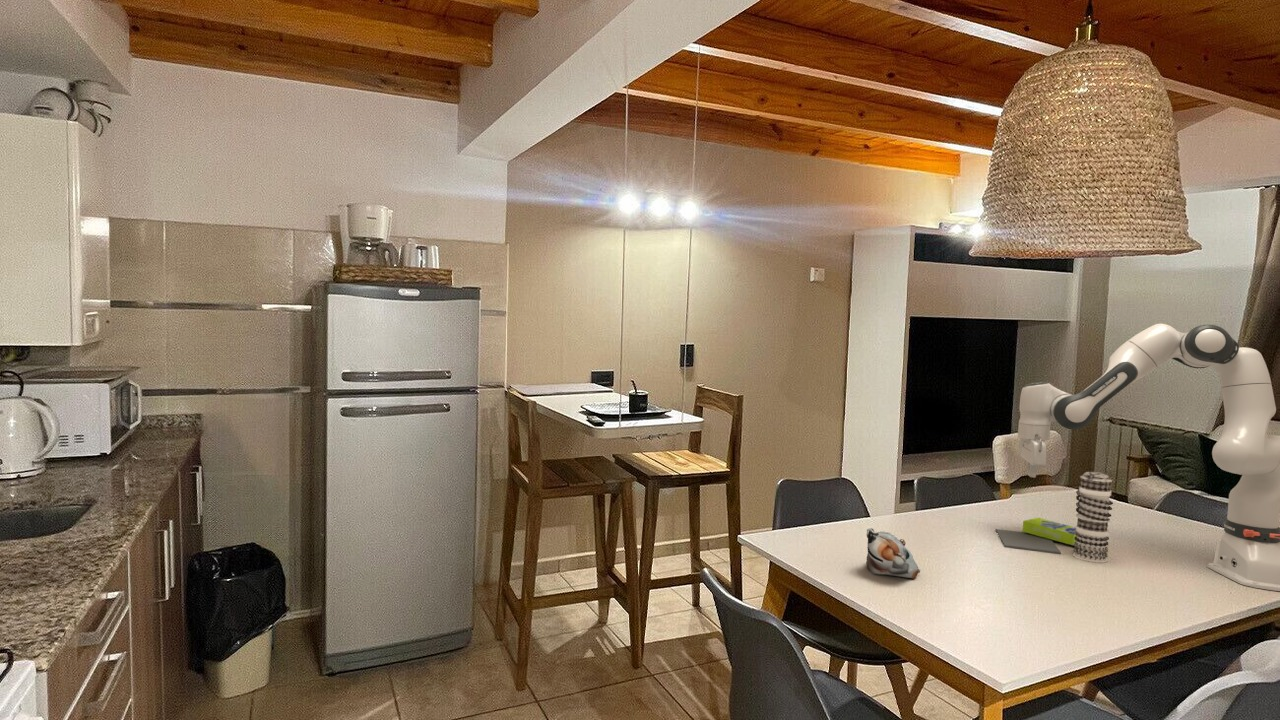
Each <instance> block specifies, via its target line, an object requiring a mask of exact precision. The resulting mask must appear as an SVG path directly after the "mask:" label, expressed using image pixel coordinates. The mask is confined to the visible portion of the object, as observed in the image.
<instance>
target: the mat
mask: <svg viewBox="0 0 1280 720" xmlns="http://www.w3.org/2000/svg"><path fill="white" fill-rule="evenodd" d="M996 531H997V532H996ZM995 532H996V534H997V533H998V534H997V536H998V535H999V536H998V538H999V537H1000V538H999V539H1001V540H1000V541H1001V544H1002V545H1003V546H1004V548H1009V549H1016V550H1017V549H1018V550H1026V551H1032V552H1033V551H1034V552H1041V553H1048V554H1057V555H1061V554H1062V552H1061V550H1060V549H1059V548H1058V546H1057V544H1055V543H1054V541H1053V540H1051V539H1047V538H1044V537H1040V536H1036V535H1033V534H1029V533H1025V532H1022V531H1015V530H1008V529H1007V530H1006V529H998V528H995Z"/></svg>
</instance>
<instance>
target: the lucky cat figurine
mask: <svg viewBox="0 0 1280 720" xmlns="http://www.w3.org/2000/svg"><path fill="white" fill-rule="evenodd" d="M866 538H867V554H866V562H865V565H866V568H867V569H868V570H869V571H870V572H871V573H872V574H873V575H875V576H876V575H885V576H887V575H888V576H893V577H894V576H895V577H901V578H907V579H911V580H915V579H916V578H917V575H918V574H920V573H921V569H919V566H918V564H917V562H916V561H915V559H914V557H913V554H912V553H911V550H909V549H908V548H907V547H906V541H905V539H904V538H900V539H899V538H897V537H896V536H895V535H894V534H892V533H891V532H887V531H878V532H876V531H875V529H874V528H872V527H870V528H868V529H866Z"/></svg>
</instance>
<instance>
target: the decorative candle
mask: <svg viewBox="0 0 1280 720" xmlns="http://www.w3.org/2000/svg"><path fill="white" fill-rule="evenodd" d="M1079 478H1080V483H1079V487H1078V489H1077V490H1076V491H1075V493H1076V496H1075V499H1076V500H1077V502H1076V503H1075V505H1076V508H1075V511H1076V512H1077V513H1076V514H1075V516H1076V518H1077V522H1076V523H1077V524H1076V527H1075V528H1076V532H1075V535H1077V536H1076V537H1074V538H1075V540H1076V542H1075V543H1074V546H1073V547H1074V548H1073V553H1072V555H1073V557H1075V558H1077V559H1078V560H1082V561H1086V562H1089V563H1100V564H1102V563H1107V562H1108V556H1109V555H1108V552H1109V548H1108V547H1107V546H1109V542H1108V541H1109V540H1110V538H1109V530H1108V527H1109V523H1110V522H1111V519H1110V518H1111V517H1112V514H1111V513H1110V511H1112V510H1113V507H1112V505H1113V504H1114V503H1113V501H1111V500H1110V499H1113V498H1114V495H1113V494H1112V490H1111V488H1112V485H1111V484H1112V482H1113V480H1112V479H1111V478H1110V476H1109V475H1108V474H1106V473H1103V472H1099V471H1098V472H1097V471H1086V472H1084V473H1083V474H1082V475H1079Z"/></svg>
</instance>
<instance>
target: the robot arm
mask: <svg viewBox="0 0 1280 720" xmlns="http://www.w3.org/2000/svg"><path fill="white" fill-rule="evenodd" d="M1169 360H1174V361H1176V362H1178V363H1180V364H1183V365H1184V366H1185V367H1186V366H1187V367H1188V368H1191V369H1205V368H1209V367H1212V368H1213V369H1214V370H1215V372H1216V373H1217V375H1218V377H1219V382H1220V389H1221V395H1222V396H1221V397H1222V401H1223V408H1224V422H1223V428H1222V431H1221V436H1220V438H1219V439H1218V440H1217V441H1216V443H1215V444H1214V445H1213V447H1212V451H1211V455H1212V459H1213V462H1214V464H1216V466H1217V467H1218V468H1220V469H1221V470H1222V471H1225V472H1227V473H1228V472H1229V473H1231V474H1235V475H1236V474H1237V475H1240V476H1241V477H1240V479H1239V481H1238V482H1237V484H1236V485H1235V486H1234V487H1233V488H1232V489H1230V491H1229V493H1228V503H1227V513H1226V515H1227V517H1226V518H1225V519H1224V523H1223V526H1224V527H1223V531H1224V534H1222V536H1221V537H1219V538H1218V539H1217V541H1216V546H1215V551H1214V552H1215V553H1214V558H1213V562H1209V563H1208V564H1207V568H1208V569H1210V570H1212V571H1214V572H1215V573H1218V574H1220V575H1222V576H1224V577H1226V578H1228V579H1230V580H1232V581H1234V582H1236V583H1238V584H1240V585H1242V586H1243V585H1244V586H1247V587H1251V588H1257V589H1260V590H1261V589H1262V590H1269V591H1276V592H1280V435H1276V434H1268V431H1269V424H1270V421H1271V420H1272V418H1273V417H1274V416H1275V414H1276V412H1277V406H1276V401H1275V396H1274V390H1273V386H1272V380H1271V376H1270V375H1271V374H1270V372H1269V369H1268V367H1267V363H1266V361H1265V359H1264V357H1263V355H1262V353H1261V352H1260V351H1258V350H1257V349H1256V348H1255V349H1254V348H1252V347H1240V344H1239V343H1238V342H1237V341H1236V340H1235V339H1234V338H1233V337H1232V336H1231V335H1230V334H1229V332H1228V331H1227V330H1226V329H1224V328H1223V327H1221V326H1218V325H1215V324H1201V325H1197V326H1195V327H1193V328H1192V329H1190V330H1189V331H1188V332H1181V331H1177V329H1176V328H1174V327H1173V326H1171V325H1169V324H1166V323H1155V324H1153V325H1151V326H1149V327H1147V328H1146V329H1143V330H1141V331H1140V332H1138V333H1136V334H1135V335H1134V336H1132V337H1131V338H1129V339H1127V341H1125V342H1123V344H1121V345H1120V346H1119V347H1117V349H1115V351H1114V352H1113V353H1112V354H1111V355H1110V356H1109V359H1108V366H1107V369H1106V371H1105V372H1104V373H1103V374H1102V375H1101V376H1100V377H1099V378H1098V379H1096V380H1095V381H1094V382H1092V383H1091V384H1090V385H1089V386H1087V387H1086V388H1085V389H1084V390H1082V391H1081V392H1079V393H1076V394H1072V393H1068V392H1065V391H1063V390H1062V389H1059V388H1057V387H1055V386H1054V385H1052V383H1050V382H1047V381H1039V382H1037V381H1036V382H1031V383H1028V384H1025V385H1024V386H1023V387H1022V389H1021V393H1020V398H1019V412H1020V413H1019V414H1020V415H1019V416H1020V418H1019V420H1018V428H1017V437H1018V438H1019V453H1020V457H1021V458H1022V459H1023V460H1025V461H1026V465H1027V475H1028V476H1029V477H1030V478H1036V477H1037V471H1038V468H1040V467H1041V468H1045V467H1046V466H1047V444H1046V441H1050V440H1051V424H1052V423H1053V422H1054V423H1055V422H1056V423H1058V424H1059V425H1060V426H1061V427H1063V428H1065V429H1068V430H1072V431H1073V430H1081V429H1084V428H1086V427H1087V426H1088V425H1090V423H1091V422H1092V421H1093V419H1094V418H1095V415H1096V413H1097V412H1098V410H1099V409H1100V408H1101V407H1102V406H1103V405H1106V403H1107V402H1108V401H1110V400H1112V399H1113V397H1114V396H1117V394H1118V393H1120V392H1121V391H1122V390H1124V389H1125V388H1126V387H1127V386H1130V385H1132V384H1134V383H1135V382H1137V381H1138V380H1140V379H1142V378H1144V377H1146V376H1147V375H1149V374H1150V373H1152V372H1153V371H1155V370H1156V369H1157V368H1159V367H1160V366H1161V365H1163V364H1164V363H1166V362H1167V361H1169Z"/></svg>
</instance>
